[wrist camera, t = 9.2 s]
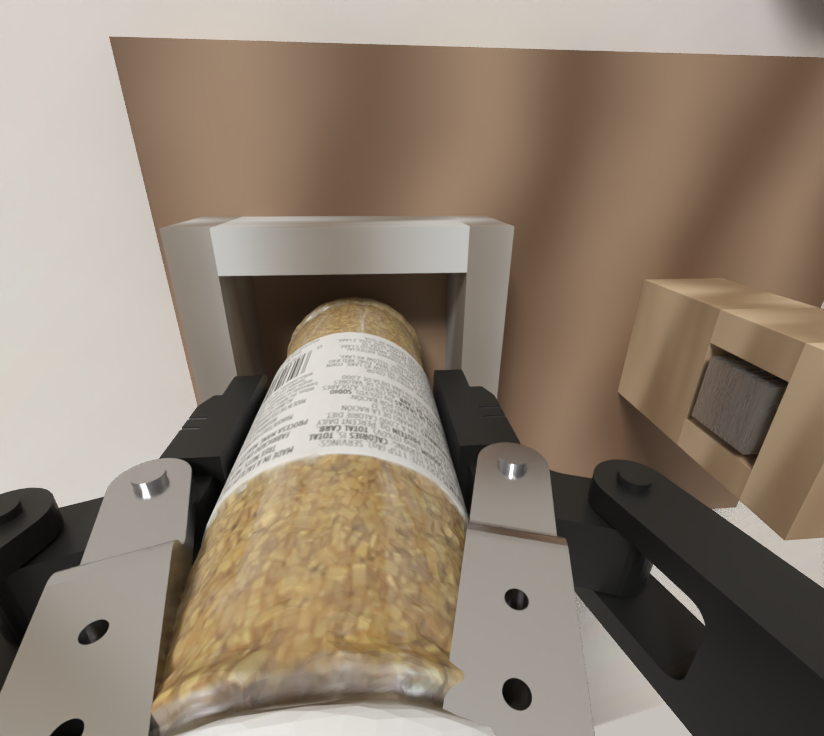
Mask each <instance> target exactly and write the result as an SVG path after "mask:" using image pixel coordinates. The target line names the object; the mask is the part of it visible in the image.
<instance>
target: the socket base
mask: <svg viewBox="0 0 824 736" xmlns="http://www.w3.org/2000/svg"><path fill="white" fill-rule="evenodd" d="M109 38H110V42H111V46H112V50H113V55H114V59H115V63H116V67H117V71H118V76H119V80H120V84H121V88H122V92H123V96H124V101H125V105H126V109H127V113H128V117H129V121H130V126H131V130H132V134H133V138H134V142H135V146H136V151H137V155H138V159H139V163H140V167H141V172H142V176H143V180H144V184H145V188H146V192H147V197H148V201H149V205H150V209H151V213H152V217H153V222H154V226H155V230H156V234H157V238H158V243H159V247H160V251H161V255H162V259H163V263H164V268H165V272H166V276H167V280H168V284H169V288H170V293H171V297H172V301H173V305H174V309H175V313H176V318H177V322H178V326H179V330H180V334H181V339H182V343H183V347H184V351H185V355H186V359H187V364H188V368H189V372H190V376H191V380H192V384H193V389H194V393H195V397H196V401H197V405H198V406H199V405H200V404H202V403H203V402H205V401H206V400H208V399H209V398H211V397H212V396H214V395H223V393H224V392H225V390H226V389H227V387H228V386H229V384H230V383H231V381H232V380H233V378H234V377H235V376H261V375H265V376H266V378H267V380H268V384H269V388H270V386H271V384H272V381H273V379H274V377H275V375H276V373H277V371H278V370H279V368H280V367H281V365H282V364H283V363H284V362H285V360H286V359H287V351H288V346H289V343H290V341H291V338H292V334H293V332H294V331H295V329H296V327H297V326H298V325H299V324H300V323H301V322H302V321H303V319H304V318H305V317H306V316H307V315H308V314H310V313H311V312H312V311H313V310H314V309H315V308H317V307H318V306H320V305H322V304H324V303H327V302H330V301H333V300H336V299H340V298H349V297H362V298H372V299H374V300H377V301H379V302H382V303H384V304H387V305H389V306H390V307H392V308H393V309H394V310H396V311H397V312H399V313H400V314H401V315H402V316H403V317H404V318H405V319H406V321H407V322H408V323H409V324H410V325H411V326H412V327H413V328H414V330H415V332H416V335H417V338H418V341H419V344H420V346H421V350H422V358H423V369H424V372H425V374H426V376H427V378H428V381H429V383H430V386H431V389H432V392H433V377H434V371H435V370H457V369H462V371H463V373H464V375H465V377H466V379H467V382H468V384H469V386H470V387H472V386H482V387H484V388H485V389H486V390H488V391H489V392H491V393H492V394H493V395H495V397H496V399H497V401H498V403H499V405H500V408H502V410H503V412H504V414H505V417H507V419H508V421H509V423H510V425H511V427H512V428H513V430H514V432H515V434H516V436H517V438H518V439H519V441H520V443H521V445H525V446H527V447H530V448H532V449H534V450H536V451H537V452H539V453H540V454H541V455H542V456H543V457H544V458H545V459H546V461H547V463H548V465H549V469H550V470H552V471H556V472H559V473H564V474H569V475H575V476H581V477H587V478H592V476H593V472H594V469H595V467H596V466H597V465H598V464H599V463H601V462H603V461H607V460H614V459H620V460H629V461H633V462H637V463H640V464H643V465H645V466H648V467H650V468H652V469H654V470H656V471H657V472H659V473H660V474H662V475H663V476H665V477H666V478H668V479H669V480H670V481H672V482H673V483H675V484H676V485H677V486H679V487H680V488H682V489H683V490H685V491H686V492H687V493H689V494H690V495H692V496H693V497H695V498H696V499H697V500H699V501H700V502H702V503H703V504H704V505H706V506H707V507H709V508H710V509H715V508H730V507H736V506H737V503H738V501H739V500H740V501H741V502H742V503H743V504H744V505H745V506H747V507H748V508H749V509H750V510H751V511H752V512H753V513H754V514H755V515H757V516H758V517H759V518H760V519H761V520H762V521H763V522H764V523H766V524H767V525H768V526H769V527H770V528H771V529H772V530H773V531H775V532H776V533H777V534H778V535H779V536H780V537H781V538H782V539H784V540H795V539H809V538H823V537H824V309H822V308H821V305H822V303H823V301H824V58H818V57H784V56H750V55H716V54H682V53H648V52H614V51H580V50H546V49H512V48H478V47H444V46H410V45H376V44H342V43H308V42H274V41H240V40H206V39H172V38H138V37H109ZM727 355H736V356H738V357H740V358H742V359H744V360H746V361H748V362H750V363H752V364H754V365H756V366H758V367H760V368H762V369H764V370H766V371H768V372H770V373H771V374H773V375H775V376H777V377H779V378H781V379H783V380H785V381H787V382H789V384H788V386H787V389H786V391H785V393H784V396H783V398H782V400H781V403H780V405H779V407H778V410H777V412H776V414H775V417H774V419H773V422H772V424H771V426H770V429H769V431H768V433H767V436H766V438H765V440H764V443H763V445H762V447H761V450H760V452H759V454H742V453H740V452H739V451H738V450H736V449H735V448H734V447H732V446H731V445H730V444H728V443H727V442H726V441H725V440H723V439H722V438H721V437H719V436H718V435H717V434H715V433H714V432H713V431H711V430H710V429H709V428H707V427H706V426H705V425H703V424H702V423H701V422H700V421H698V420H697V419H696V418H694V417H693V416H692V413H693V410H694V407H695V404H696V400H697V397H698V394H699V391H700V388H701V385H702V382H703V379H704V376H705V373H706V370H707V367H708V364H709V361H710V358H711V356H727Z"/></svg>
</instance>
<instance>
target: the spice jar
mask: <svg viewBox="0 0 824 736" xmlns="http://www.w3.org/2000/svg"><path fill="white" fill-rule="evenodd" d="M468 522H469V517H468V513H467V510H466V507H465V503H464V500H463V496H462V493H461V489H460V486H459V482H458V479H457V475H456V472H455V468H454V465H453V461H452V458H451V454H450V451H449V447H448V444H447V440H446V437H445V433H444V429H443V426H442V423H441V420H440V416H439V413H438V409H437V406H436V402H435V399H434V396H433V392H432V389H431V386H430V383H429V381H428V378H427V376H426V374H425V372H424V369H423V358H422V350H421V346H420V344H419V341H418V338H417V335H416V332H415V330H414V328H413V327H412V326H411V325H410V324H409V323H408V322H407V321H406V319H405V318H404V317H403V316H402V315H401V314H400V313H399V312H397V311H396V310H394V309H393V308H392V307H390V306H389V305H387V304H384V303H382V302H379V301H377V300H374V299H372V298H362V297H349V298H340V299H336V300H333V301H330V302H327V303H324V304H322V305H320V306H318V307H317V308H315V309H314V310H313V311H312V312H311V313H310V314H308V315H307V316H306V317H305V318H304V319H303V321H302V322H301V323H300V324H299V325H298V326H297V327H296V329H295V331H294V332H293V334H292V338H291V341H290V343H289V346H288V351H287V359H286V360H285V362H284V363H283V364H282V365H281V367H280V368H279V370H278V371H277V373H276V375H275V377H274V379H273V381H272V384H271V386H270V388H269V390H268V392H267V394H266V397H265V399H264V401H263V403H262V405H261V407H260V409H259V411H258V413H257V416H256V418H255V420H254V422H253V424H252V427H251V429H250V431H249V433H248V435H247V437H246V440H245V442H244V444H243V446H242V448H241V451H240V453H239V455H238V457H237V459H236V461H235V464H234V466H233V468H232V470H231V472H230V475H229V477H228V479H227V481H226V483H225V486H224V488H223V490H222V492H221V494H220V497H219V499H218V501H217V503H216V505H215V508H214V510H213V512H212V514H211V517H210V519H209V521H208V523H207V526H206V529H205V532H204V535H203V539H202V543H201V548H200V550H199V553H198V555H197V558H196V560H195V562H194V564H193V566H192V568H191V570H190V572H189V575H188V577H187V583H186V587H185V589H184V593H183V595H182V597H181V601H180V604H179V607H178V610H177V613H176V620H175V624H174V627H173V636H172V640H171V642H170V645H169V650H168V654H167V659H166V664H165V670H164V676H163V681H162V684H161V685H160V686H159V690H158V693H157V696H156V698H155V699H154V701H153V703H152V705H151V709H150V711H151V717H152V724H153V736H495V734H494V733H493V731H492V729H491V727H489V726H486V725H483V724H480V723H477V722H475V721H472V720H469V719H466V718H463V717H460V716H457V715H455V714H453V713H451V712H449V711H447V710H445V709H443V703H444V697H445V696H446V694H447V693H448V691H449V690H450V688H452V687H454V686H455V685H457V684H459V683H460V682H462V680H463V679H464V673H463V671H462V670H460V669H459V668H458V667H456V666H455V665H454V664H452V663H451V662H450V661H449V659H450V651H451V644H452V636H453V629H454V622H455V614H456V607H457V599H458V592H459V584H460V577H461V569H462V562H463V555H464V547H465V540H466V532H467V525H468Z"/></svg>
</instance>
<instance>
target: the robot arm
mask: <svg viewBox="0 0 824 736" xmlns="http://www.w3.org/2000/svg"><path fill="white" fill-rule="evenodd" d="M268 390H269V384H268V380H267V378H266V376H265V375H261V376H235V377H234V378H233V380H232V381H231V383H230V384H229V386H228V387H227V389H226V390H225V392H224V393H223V395H214V396H212V397H211V398H209V399H208V400H206V401H205V402H203V403H202V404H200V405H199V406H198V407H197V408H196V409H195V411H194V412H193V413H192V415H191V416H190V418H189V420H187V422H186V423H185V424H184V426H183V427H182V430H180V431H179V432H178V434H177V435H176V436H175V438H174V439H173V441H172V442H171V443H170V445H169V446H168V447H167V449H166V450H165V451H164V453H163V454H162V455H161V457H160V458H159V459H156V460H151V461H148V462H145V463H141V464H139V465H137V466H134V467H132V468H130V469H128V470H127V471H125V472H123V473H122V474H120V475H119V476H118V477H116V478H115V479H114V480H113V481H112V482H111V484H110V485H109V486H108V488H107V490H106V493H105V496H104V497H101V498H98V499H94V500H89V501H85V502H81V503H77V504H73V505H69V506H65V507H61V508H58V505H57V503H56V501H55V499H54V497H53V494H52V493H51V492H50V491H48V490H46V489H42V488H25V489H18V490H14V491H10V492H6V493H3V494H0V736H153V724H152V717H151V711H150V709H151V705H152V703H153V701H154V699H155V698H156V696H157V693H158V690H159V686H160V685H161V684H162V681H163V676H164V670H165V664H166V659H167V654H168V650H169V645H170V642H171V640H172V636H173V627H174V624H175V620H176V613H177V610H178V607H179V604H180V601H181V597H182V595H183V593H184V589H185V587H186V583H187V577H188V575H189V572H190V570H191V568H192V566H193V564H194V562H195V560H196V558H197V555H198V553H199V550H200V548H201V543H202V539H203V535H204V532H205V529H206V526H207V523H208V521H209V519H210V517H211V514H212V512H213V510H214V508H215V505H216V503H217V501H218V499H219V497H220V494H221V492H222V490H223V488H224V486H225V483H226V481H227V479H228V477H229V475H230V472H231V470H232V468H233V466H234V464H235V461H236V459H237V457H238V455H239V453H240V451H241V448H242V446H243V444H244V442H245V440H246V437H247V435H248V433H249V431H250V429H251V427H252V424H253V422H254V420H255V418H256V416H257V413H258V411H259V409H260V407H261V405H262V403H263V401H264V399H265V397H266V394H267V392H268ZM433 396H434V399H435V402H436V406H437V409H438V413H439V416H440V420H441V423H442V426H443V429H444V433H445V437H446V440H447V444H448V447H449V451H450V454H451V458H452V461H453V465H454V468H455V472H456V475H457V479H458V482H459V486H460V489H461V493H462V496H463V500H464V503H465V507H466V510H467V513H468V517H469V522H468V525H467V532H466V540H465V547H464V555H463V562H462V569H461V577H460V584H459V592H458V599H457V607H456V614H455V622H454V629H453V636H452V644H451V651H450V659H449V661H450V662H451V663H452V664H454V665H455V666H456V667H458V668H459V669H460V670H462V671H463V673H464V679H463V680H462V682H460V683H459V684H457V685H455V686H454V687H452V688H450V690H449V691H448V693H447V694H446V696H445V697H444V703H443V709H445V710H447V711H449V712H451V713H453V714H455V715H457V716H460V717H463V718H466V719H469V720H472V721H475V722H477V723H480V724H483V725H486V726H489V727H491V729H492V731H493V733H494V734H495V736H595V732H594V725H593V718H592V711H591V704H590V697H589V690H588V683H587V676H586V669H585V662H584V655H583V648H582V641H581V634H580V627H579V620H578V613H577V605H576V598H575V592H576V594H577V595H578V596H579V597H580V599H581V600H582V601H583V602H584V604H585V605H586V606H587V607H588V608H589V610H590V611H591V612H592V613H593V615H594V616H595V617H596V618H597V619H598V621H599V622H600V623H601V624H602V626H603V627H604V628H605V629H606V630H607V632H608V633H609V634H610V635H611V637H612V638H613V639H614V640H615V641H616V643H617V644H618V645H619V646H620V648H621V649H622V650H623V651H624V652H625V654H626V655H627V656H628V657H629V658H630V660H631V661H632V662H633V663H634V665H635V666H636V667H637V668H638V669H639V671H640V672H641V673H642V674H643V676H644V677H645V678H646V679H647V680H648V682H649V683H650V684H651V685H652V687H653V688H654V689H655V690H656V691H657V693H658V694H659V695H660V696H661V698H662V699H663V700H664V701H665V702H666V704H667V705H668V706H669V707H670V708H671V710H672V711H673V712H674V713H675V715H676V716H677V717H678V718H679V719H680V721H681V722H682V723H683V724H684V725H685V727H686V728H687V729H688V730H689V732H690V733H691V734H692V735H693V736H824V588H822V587H821V586H820V585H818V584H817V583H815V582H814V581H812V580H811V579H810V578H808V577H807V576H805V575H804V574H802V573H801V572H800V571H798V570H797V569H795V568H794V567H793V566H791V565H790V564H788V563H787V562H785V561H784V560H783V559H781V558H780V557H778V556H777V555H775V554H774V553H773V552H771V551H770V550H768V549H767V548H766V547H764V546H763V545H761V544H760V543H758V542H757V541H756V540H754V539H753V538H751V537H750V536H748V535H747V534H746V533H744V532H743V531H741V530H740V529H739V528H737V527H736V526H734V525H733V524H731V523H730V522H729V521H727V520H726V519H724V518H723V517H721V516H720V515H719V514H717V513H716V512H714V511H713V510H712V509H710V508H709V507H707V506H706V505H704V504H703V503H702V502H700V501H699V500H697V499H696V498H695V497H693V496H692V495H690V494H689V493H687V492H686V491H685V490H683V489H682V488H680V487H679V486H677V485H676V484H675V483H673V482H672V481H670V480H669V479H668V478H666V477H665V476H663V475H662V474H660V473H659V472H657V471H656V470H654V469H652V468H650V467H648V466H645V465H643V464H640V463H637V462H633V461H629V460H620V459H614V460H607V461H603V462H601V463H599V464H598V465H597V466H596V467H595V469H594V472H593V476H592V478H587V477H581V476H575V475H569V474H564V473H559V472H556V471H552V470H550V469H549V465H548V463H547V461H546V459H545V458H544V457H543V456H542V455H541V454H540V453H539V452H537V451H536V450H534V449H532V448H530V447H527V446H525V445H521V443H520V441H519V439H518V438H517V436H516V434H515V432H514V430H513V428H512V427H511V425H510V423H509V421H508V419H507V417H505V414H504V412H503V410H502V408H500V405H499V403H498V401H497V399H496V397H495V395H493V394H492V393H491V392H489V391H488V390H486V389H485V388H484V387H482V386H472V387H470V386H469V384H468V382H467V379H466V377H465V375H464V373H463V371H462V369H457V370H435V371H434V377H433ZM653 564H654V565H655V566H656V567H657V568H658V569H659V570H660V571H661V572H662V573H663V574H665V575H666V576H667V577H668V578H669V579H670V580H671V581H672V582H673V583H674V584H675V585H676V586H677V587H678V588H680V589H681V590H682V591H683V592H684V593H685V594H686V595H687V596H688V597H689V598H690V599H691V600H692V601H693V602H694V603H695V605H696V606H697V607H698V609H699V610H700V612H701V614H702V616H703V619H704V622H705V626H704V625H703V624H702V623H701V622H700V621H699V620H698V619H697V618H696V617H695V616H694V615H693V614H692V613H691V612H690V611H689V610H688V609H687V608H686V607H685V606H684V605H683V604H682V603H680V602H679V601H678V600H677V599H676V598H675V597H674V596H673V595H672V594H671V593H670V592H669V591H668V590H667V589H666V588H665V587H664V586H663V585H662V584H661V583H660V582H659V581H658V580H656V579H655V578H654V577H653V576H652V575H651V574H650V571H651V569H652V566H653Z"/></svg>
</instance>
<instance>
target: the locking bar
mask: <svg viewBox="0 0 824 736" xmlns="http://www.w3.org/2000/svg"><path fill="white" fill-rule="evenodd" d="M788 384H789V382H787V381H785V380H783V379H781V378H779V377H777V376H775V375H773V374H771V373H770V372H768V371H766V370H764V369H762V368H760V367H758V366H756V365H754V364H752V363H750V362H748V361H746V360H744V359H742V358H740V357H738V356H736V355H727V356H711V358H710V361H709V364H708V367H707V370H706V373H705V376H704V379H703V382H702V385H701V388H700V391H699V394H698V397H697V400H696V404H695V407H694V410H693V413H692V416H693V417H694V418H696V419H697V420H698V421H700V422H701V423H702V424H703V425H705V426H706V427H707V428H709V429H710V430H711V431H713V432H714V433H715V434H717V435H718V436H719V437H721V438H722V439H723V440H725V441H726V442H727V443H728V444H730V445H731V446H732V447H734V448H735V449H736V450H738V451H739V452H740V453H742V454H759V452H760V450H761V447H762V445H763V443H764V440H765V438H766V436H767V433H768V431H769V429H770V426H771V424H772V422H773V419H774V417H775V414H776V412H777V410H778V407H779V405H780V403H781V400H782V398H783V396H784V393H785V391H786V389H787V386H788Z"/></svg>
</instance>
